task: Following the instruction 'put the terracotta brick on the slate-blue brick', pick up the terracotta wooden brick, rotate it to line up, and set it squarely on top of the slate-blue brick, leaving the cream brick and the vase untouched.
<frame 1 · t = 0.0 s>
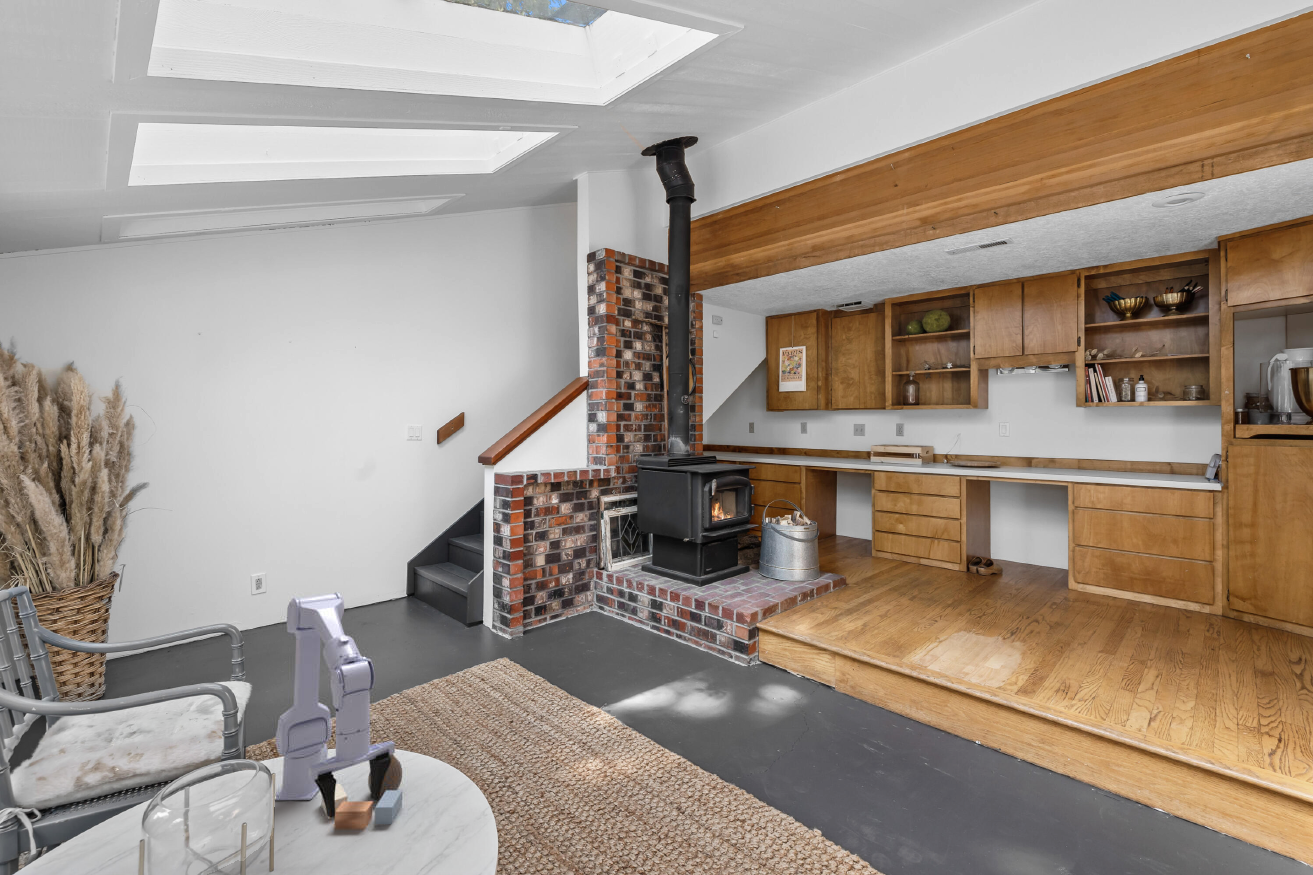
hand: (353, 806, 108), 11 cm above the table, tool pointing down, fingers open, 7 cm apart
vase: (384, 794, 130), on the table
cream brick: (333, 809, 124), on the table
terracotta brick: (353, 823, 120), on the table
slate brick: (388, 815, 123), on the table
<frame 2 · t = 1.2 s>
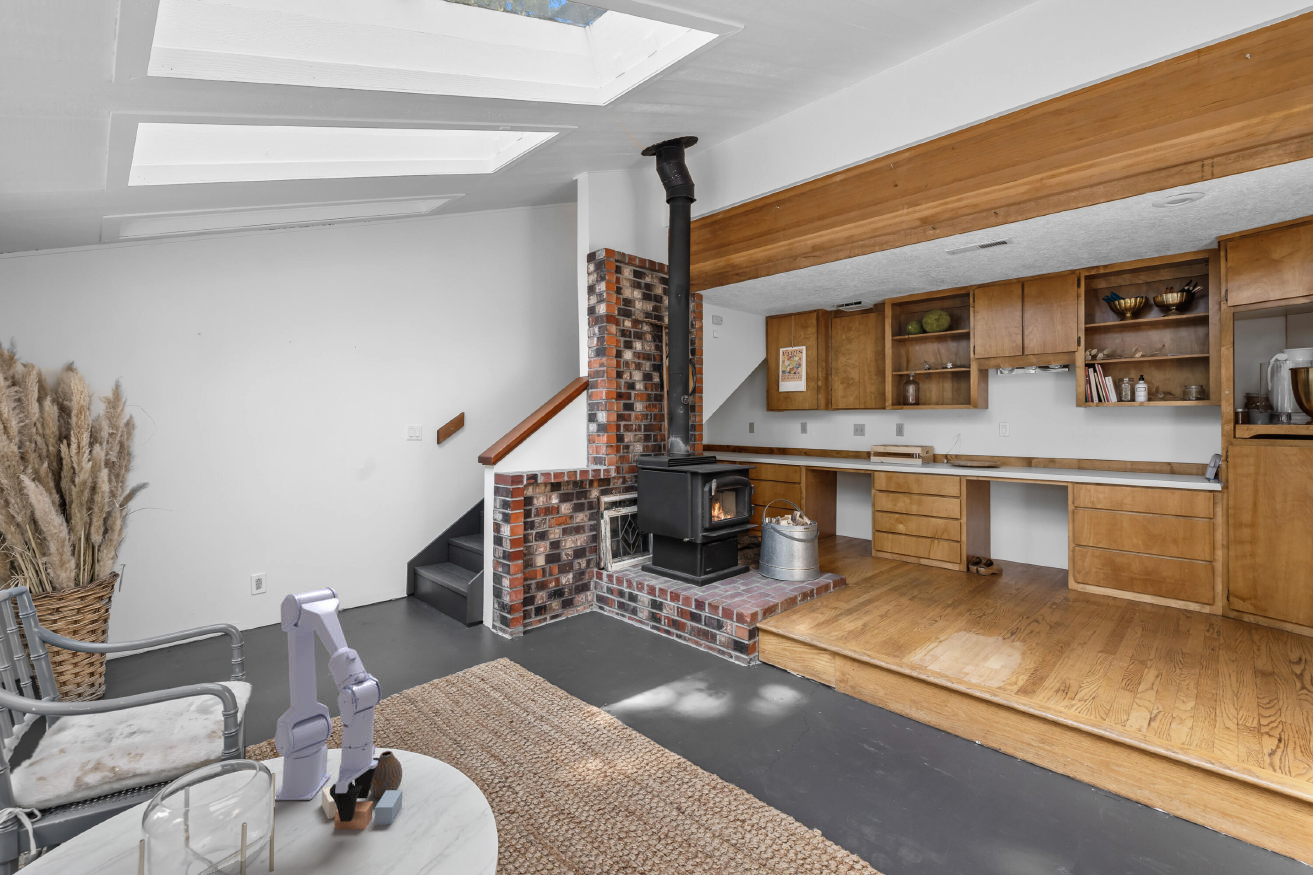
hand: (354, 808, 120), 3 cm above the table, tool pointing down, fingers open, 7 cm apart
nothing on the table moved.
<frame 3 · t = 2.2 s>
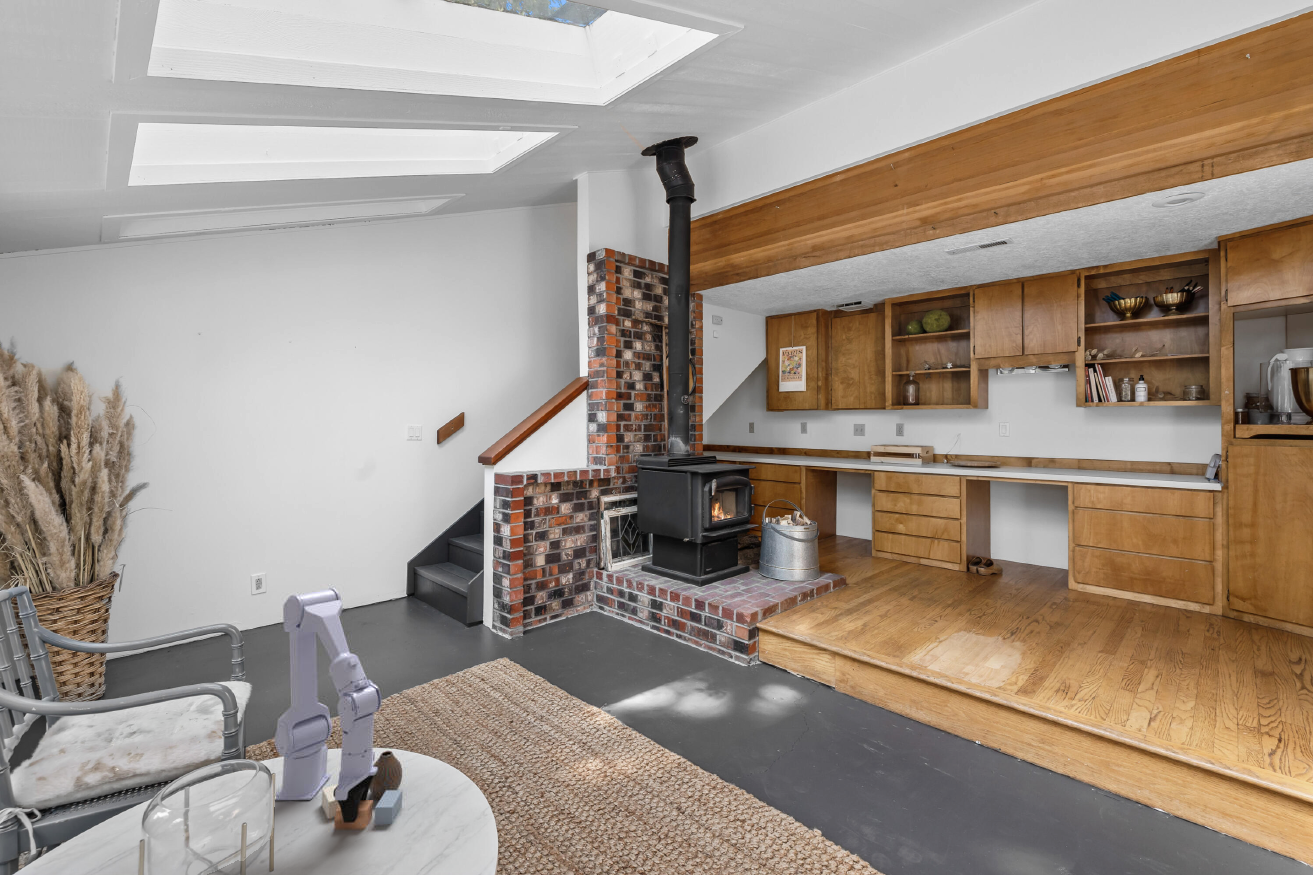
hand: (353, 815, 120), 2 cm above the table, tool pointing down, fingers closed on terracotta brick, 3 cm apart
terracotta brick: (353, 823, 120), on the table, touching gripper
everything else where it was.
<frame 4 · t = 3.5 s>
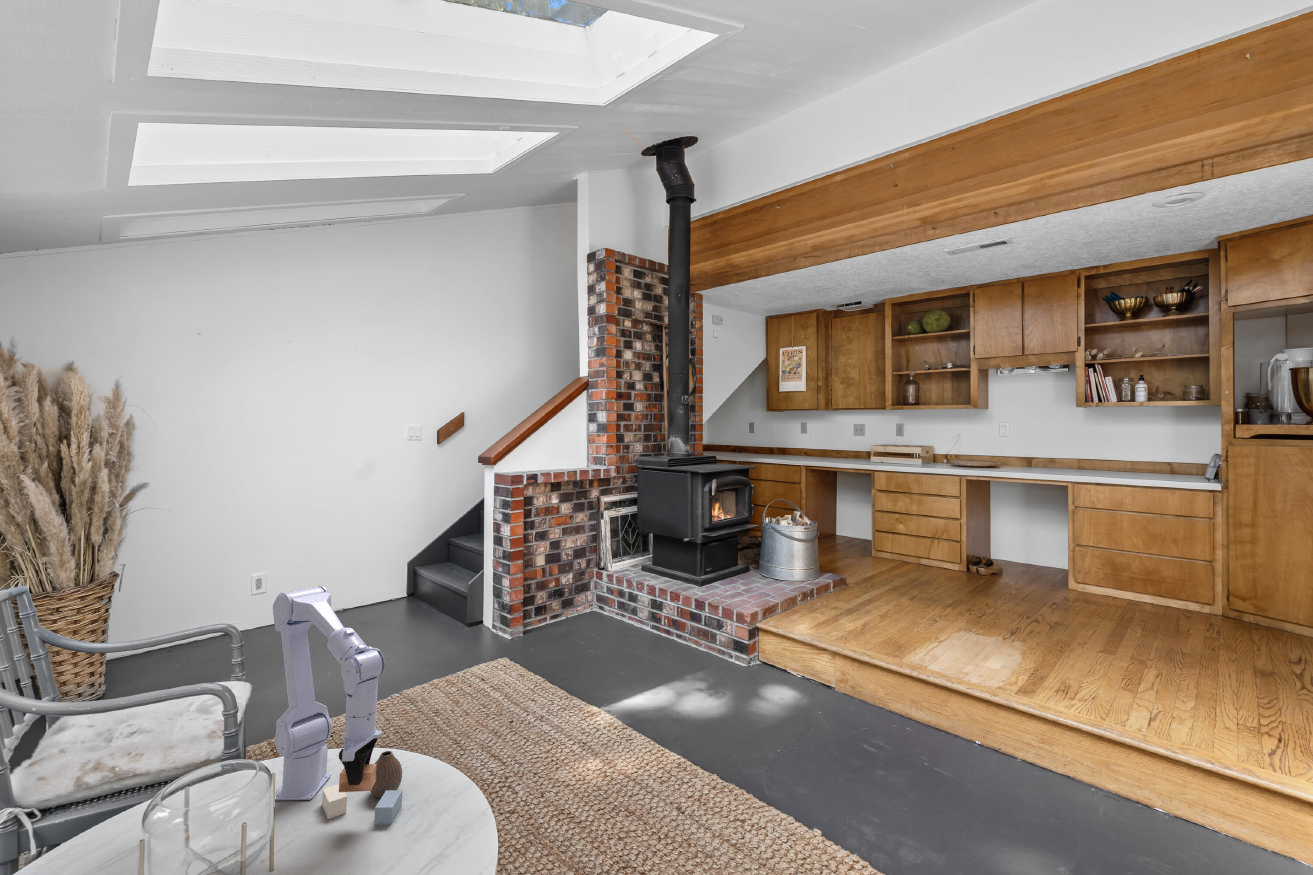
hand: (357, 778, 120), 9 cm above the table, tool pointing down, fingers closed on terracotta brick, 3 cm apart
terracotta brick: (357, 786, 120), point 7 cm above the table, touching gripper
everything else where it was.
when the fingers open (6 cm above the table, at t = 5.1 s): terracotta brick drops 1 cm, point 3 cm above the table.
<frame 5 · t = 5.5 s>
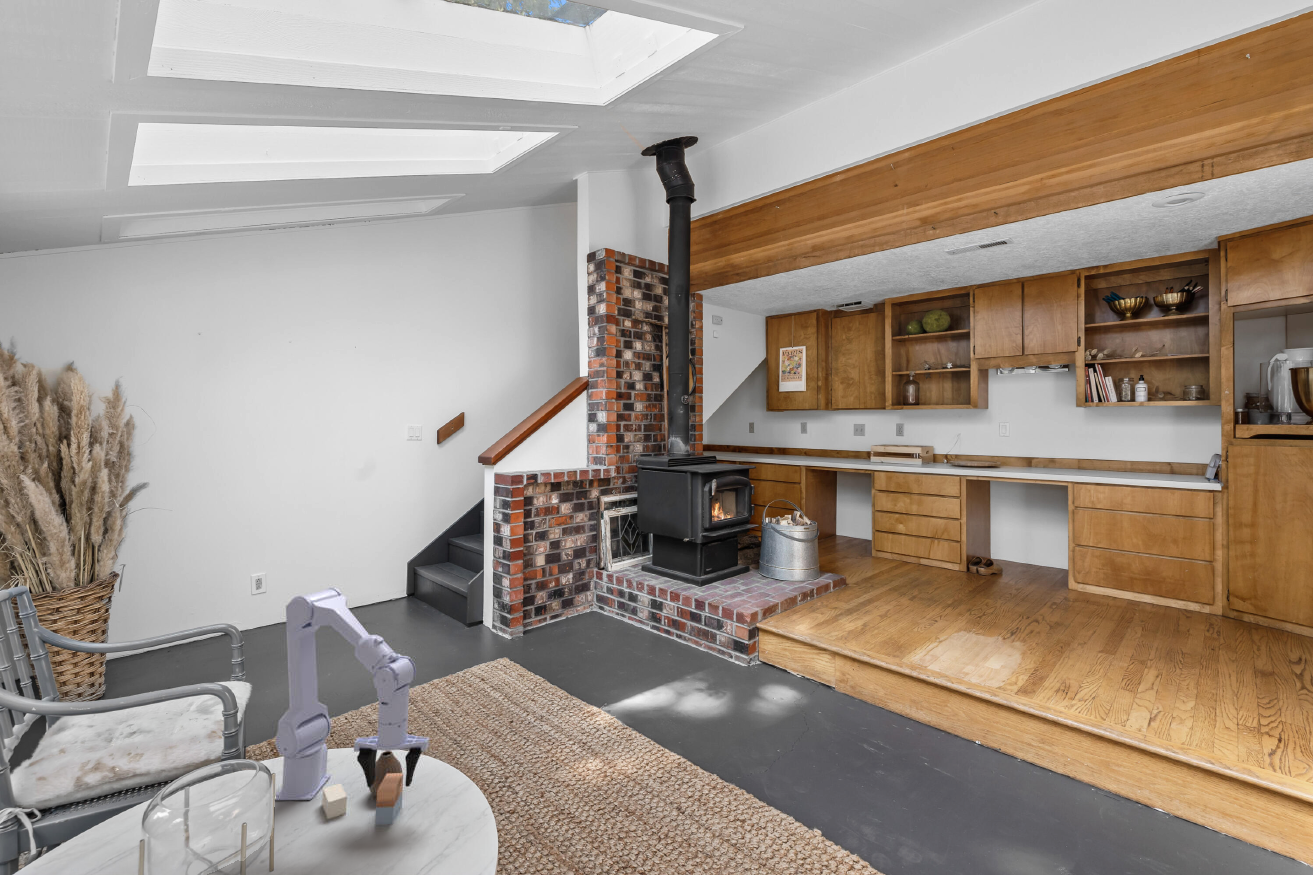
hand: (389, 783, 123), 6 cm above the table, tool pointing down, fingers open, 7 cm apart
terracotta brick: (389, 798, 123), point 3 cm above the table
everything else where it was.
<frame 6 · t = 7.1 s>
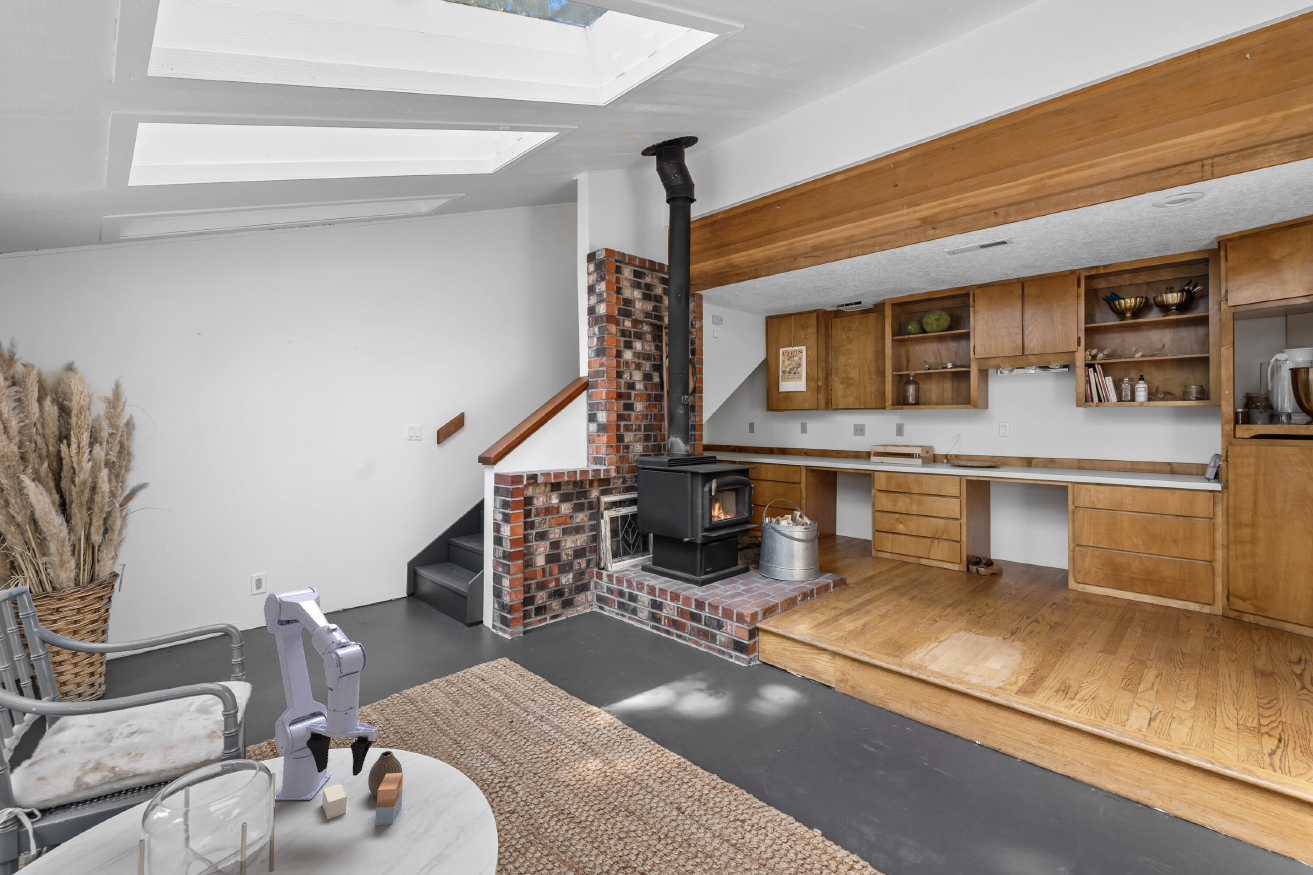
hand: (339, 771, 122), 9 cm above the table, tool pointing down, fingers open, 7 cm apart
terracotta brick: (389, 798, 123), point 3 cm above the table, touching slate brick
slate brick: (388, 815, 123), on the table, touching terracotta brick
everything else where it was.
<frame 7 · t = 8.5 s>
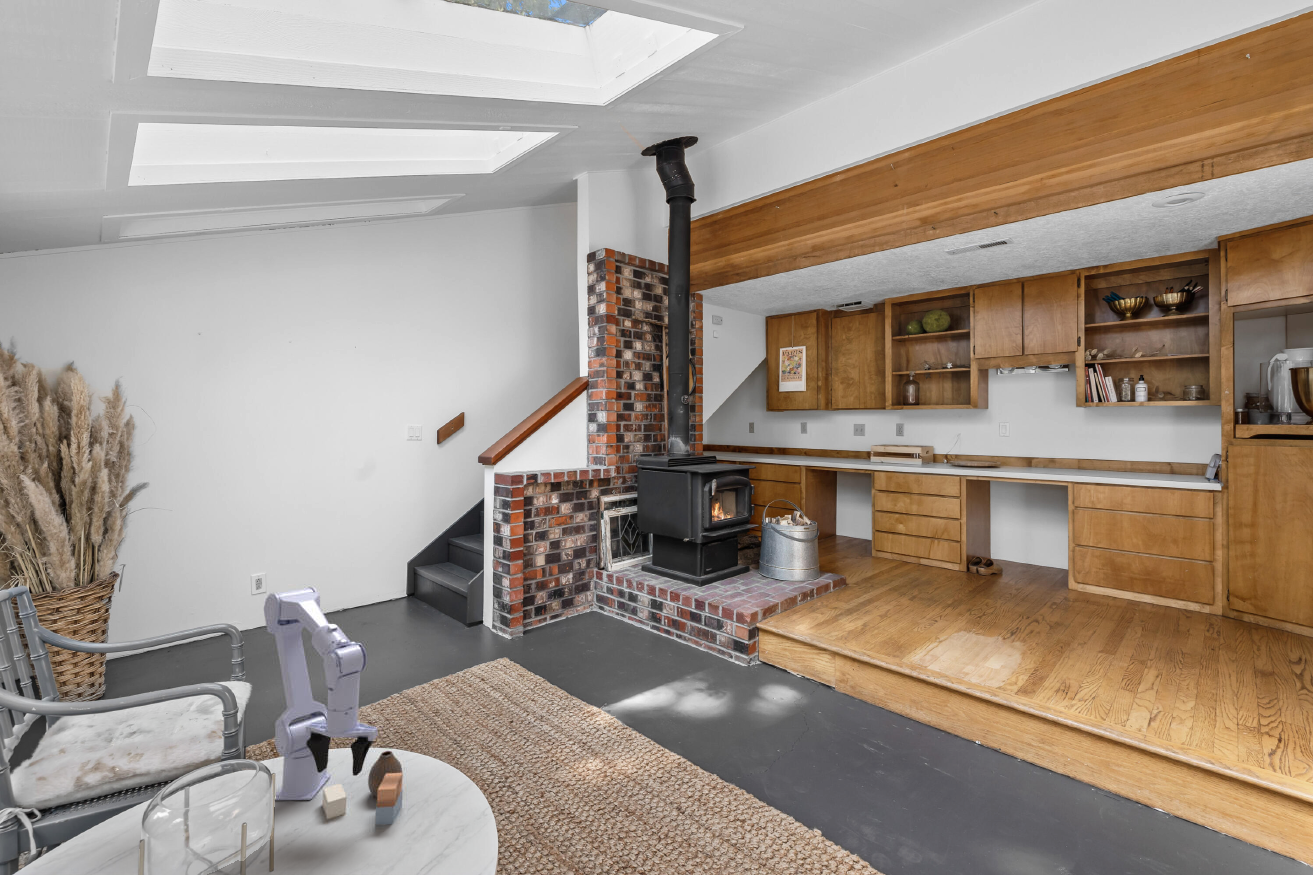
hand: (339, 771, 121), 9 cm above the table, tool pointing down, fingers open, 7 cm apart
nothing on the table moved.
at the end: terracotta brick 0.0 cm off-centre on the slate brick, point 3.6 cm above the slate brick's base; terracotta brick tilted 0°; cream brick moved 0.2 cm from its start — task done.
